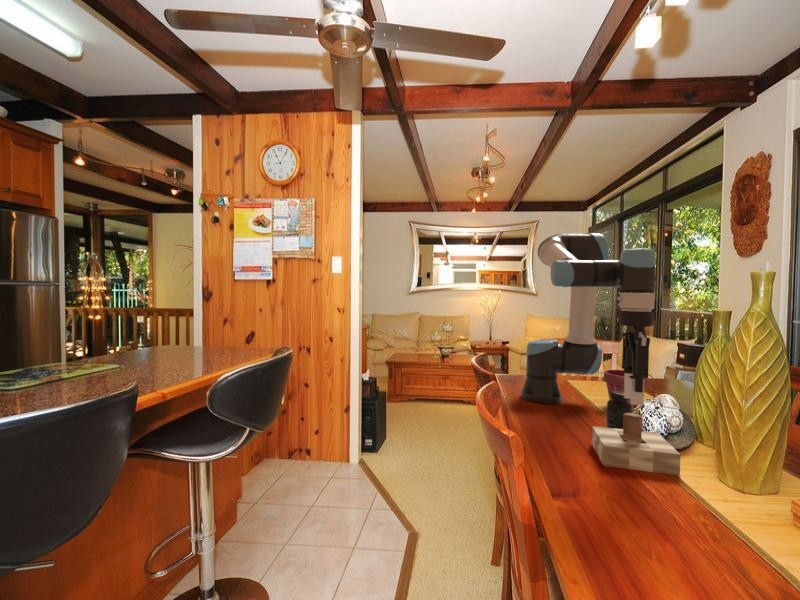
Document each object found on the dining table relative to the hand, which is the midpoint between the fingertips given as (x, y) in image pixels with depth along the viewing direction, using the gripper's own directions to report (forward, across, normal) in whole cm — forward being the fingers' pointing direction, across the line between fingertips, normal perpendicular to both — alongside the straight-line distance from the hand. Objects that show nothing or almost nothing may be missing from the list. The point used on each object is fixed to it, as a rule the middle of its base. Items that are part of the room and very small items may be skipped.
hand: (633, 401), depth 97 cm
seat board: (+15, 0, 0) cm, 15 cm away
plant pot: (+15, -49, +11) cm, 52 cm away
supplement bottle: (+15, -20, +2) cm, 25 cm away
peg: (+15, 0, 0) cm, 15 cm away
